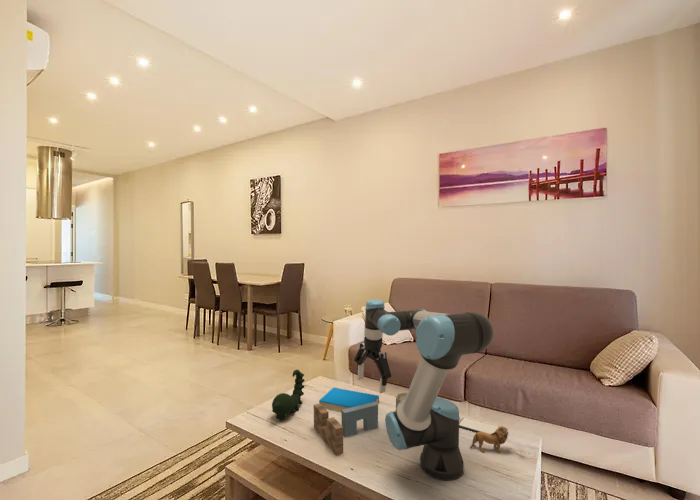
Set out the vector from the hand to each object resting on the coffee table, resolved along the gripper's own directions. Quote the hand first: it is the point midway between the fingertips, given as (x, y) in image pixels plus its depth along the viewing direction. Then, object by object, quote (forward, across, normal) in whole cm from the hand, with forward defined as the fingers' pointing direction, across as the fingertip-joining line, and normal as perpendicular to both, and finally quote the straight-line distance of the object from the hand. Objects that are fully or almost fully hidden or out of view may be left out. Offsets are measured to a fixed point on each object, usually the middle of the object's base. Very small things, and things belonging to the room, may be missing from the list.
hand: (371, 385), depth 150 cm
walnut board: (+19, +3, +19) cm, 27 cm away
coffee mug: (+20, -5, -20) cm, 28 cm away
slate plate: (+19, 0, +5) cm, 19 cm away
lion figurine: (+16, -41, -25) cm, 51 cm away
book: (+22, +21, -7) cm, 31 cm away
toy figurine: (+22, +32, +21) cm, 44 cm away
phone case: (+18, -30, -36) cm, 50 cm away
